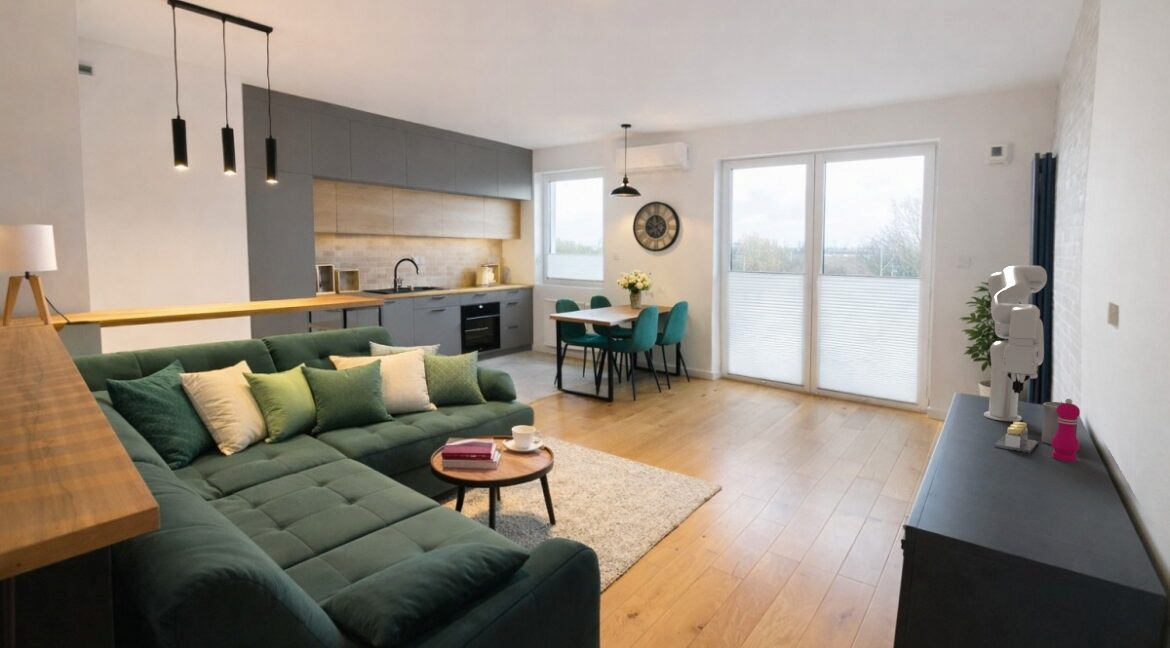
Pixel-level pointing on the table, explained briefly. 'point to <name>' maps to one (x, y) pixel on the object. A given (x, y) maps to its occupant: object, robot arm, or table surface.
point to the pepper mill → (1066, 432)
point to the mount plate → (1016, 442)
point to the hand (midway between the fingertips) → (1017, 392)
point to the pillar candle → (1050, 421)
